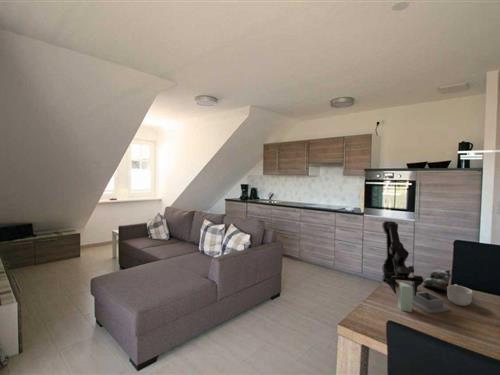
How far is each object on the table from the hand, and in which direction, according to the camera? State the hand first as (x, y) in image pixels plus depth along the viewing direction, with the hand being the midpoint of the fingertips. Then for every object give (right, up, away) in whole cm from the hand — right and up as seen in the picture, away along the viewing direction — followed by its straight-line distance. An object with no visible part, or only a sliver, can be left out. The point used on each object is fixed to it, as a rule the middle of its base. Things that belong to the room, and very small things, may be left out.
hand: (405, 294), depth 136 cm
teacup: (+34, -8, +8) cm, 36 cm away
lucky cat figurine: (+33, -6, +25) cm, 42 cm away
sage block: (0, -8, +1) cm, 8 cm away
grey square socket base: (+15, -8, +5) cm, 17 cm away
